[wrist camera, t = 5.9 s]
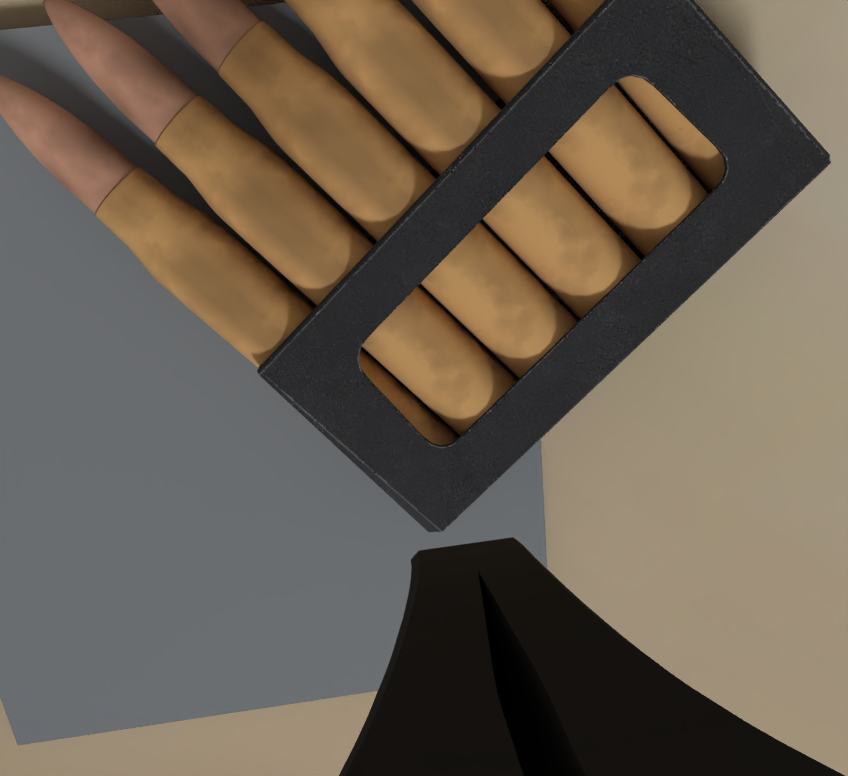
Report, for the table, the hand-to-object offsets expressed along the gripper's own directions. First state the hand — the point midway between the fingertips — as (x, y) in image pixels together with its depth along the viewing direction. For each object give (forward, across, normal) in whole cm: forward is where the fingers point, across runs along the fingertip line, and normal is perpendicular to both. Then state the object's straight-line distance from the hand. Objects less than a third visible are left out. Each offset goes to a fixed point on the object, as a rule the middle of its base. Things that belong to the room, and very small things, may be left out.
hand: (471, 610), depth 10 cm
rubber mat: (+8, +4, 0) cm, 9 cm away
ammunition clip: (+7, -4, -1) cm, 8 cm away
